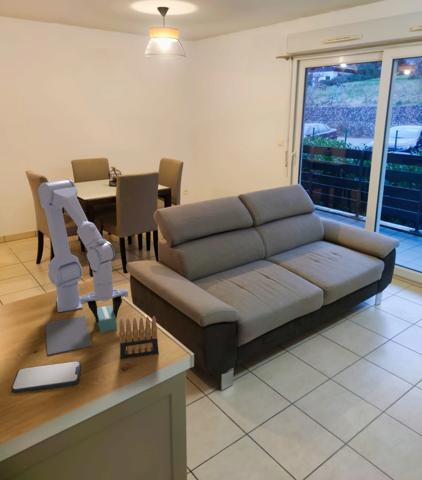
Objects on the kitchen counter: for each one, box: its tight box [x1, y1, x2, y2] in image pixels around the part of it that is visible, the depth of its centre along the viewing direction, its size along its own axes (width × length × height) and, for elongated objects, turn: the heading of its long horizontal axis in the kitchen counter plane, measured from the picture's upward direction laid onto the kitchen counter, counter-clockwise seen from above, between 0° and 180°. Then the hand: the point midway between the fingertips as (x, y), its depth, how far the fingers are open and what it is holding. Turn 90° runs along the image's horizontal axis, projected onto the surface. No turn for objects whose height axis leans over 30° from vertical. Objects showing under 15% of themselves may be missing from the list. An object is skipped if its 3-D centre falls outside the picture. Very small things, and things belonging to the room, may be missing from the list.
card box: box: [97, 305, 118, 333], centre depth 124 cm, size 9×5×4 cm, turn 24°
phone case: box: [10, 360, 82, 394], centre depth 100 cm, size 9×2×16 cm
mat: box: [45, 315, 92, 356], centre depth 118 cm, size 18×12×1 cm, turn 24°
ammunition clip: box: [118, 315, 160, 360], centre depth 108 cm, size 11×2×12 cm, turn 105°
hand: (106, 319), depth 124 cm, fingers closed on card box, 5 cm apart
